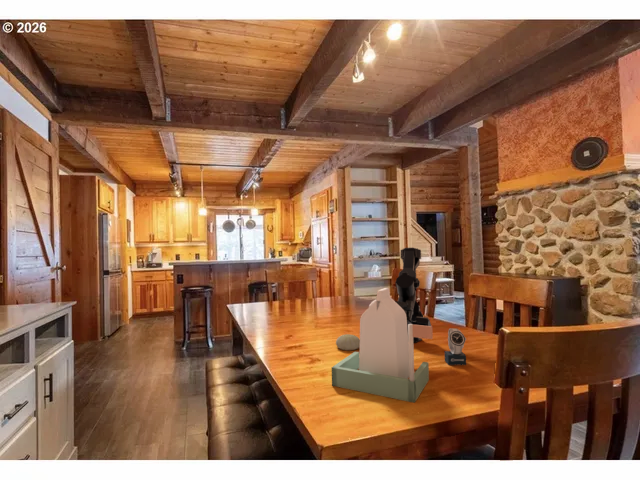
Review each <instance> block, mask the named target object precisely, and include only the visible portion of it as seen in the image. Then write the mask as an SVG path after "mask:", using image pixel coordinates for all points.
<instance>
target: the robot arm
mask: <svg viewBox="0 0 640 480" xmlns="http://www.w3.org/2000/svg"><path fill="white" fill-rule="evenodd" d="M400 260H402V264H403V265H402V269H401V270H400V271H399V272H398V276H397V277H396V279H395V282H394V284H395V288H396V290H397V294H398V299H397V301H396V300H394V301H395V302H396V303H397V304H398V305H399V306H400V307H401V308H402V309H403V310H404V311H405V313H406V317H407V330H408V324H413V325H423V326H432V323H431V321H430V319H429V317H426V316H424V314H423V312H422V310H421V308H420V305H419V303H418V302H417V300H416V299H417V296H416V295H417V289H419V287H420V285H421V281H420V280H419V278H417V268H418V267H419V266H420V263H421V262H420V260H422V251H421V249H419V248H416V247H403V248H402V249H400ZM421 341H423V338H418V337H413V344H416V343H418V342H421Z"/></svg>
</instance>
